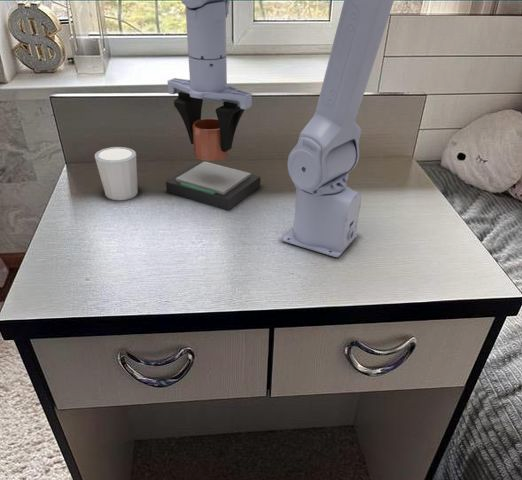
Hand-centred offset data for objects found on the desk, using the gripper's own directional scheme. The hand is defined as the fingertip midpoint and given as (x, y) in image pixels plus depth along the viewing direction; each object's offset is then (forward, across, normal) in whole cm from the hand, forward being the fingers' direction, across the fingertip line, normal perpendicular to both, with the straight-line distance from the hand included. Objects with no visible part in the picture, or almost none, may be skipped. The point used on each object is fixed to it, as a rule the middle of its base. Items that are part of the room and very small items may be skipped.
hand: (210, 145), depth 88 cm
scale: (+8, -1, +1) cm, 9 cm away
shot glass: (+9, -14, -8) cm, 18 cm away
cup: (+1, 0, 0) cm, 1 cm away
